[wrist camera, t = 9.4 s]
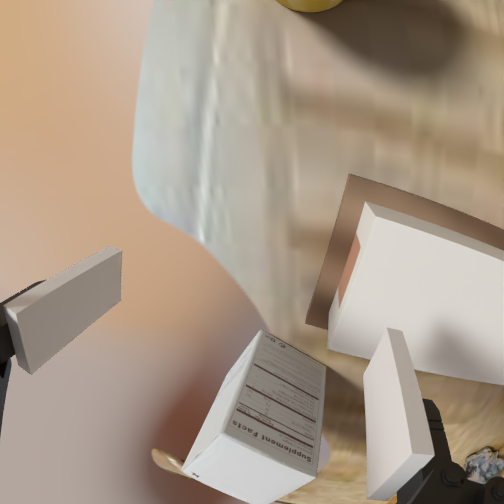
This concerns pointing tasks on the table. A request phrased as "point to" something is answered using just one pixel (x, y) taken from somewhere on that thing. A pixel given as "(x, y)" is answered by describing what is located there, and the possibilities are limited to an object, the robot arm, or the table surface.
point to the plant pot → (309, 5)
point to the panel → (422, 296)
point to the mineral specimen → (483, 465)
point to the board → (394, 200)
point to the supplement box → (262, 425)
